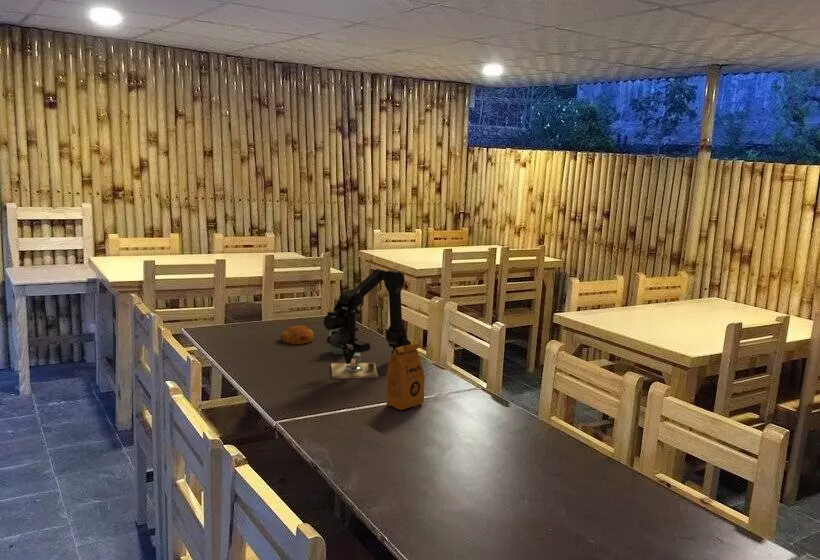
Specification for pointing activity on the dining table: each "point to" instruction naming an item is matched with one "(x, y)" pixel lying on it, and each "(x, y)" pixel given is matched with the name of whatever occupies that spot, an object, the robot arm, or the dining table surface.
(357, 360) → the cap
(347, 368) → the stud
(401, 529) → the dining table surface
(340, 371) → the board
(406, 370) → the coffee package
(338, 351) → the flower pot
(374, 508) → the dining table surface
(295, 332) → the croissant
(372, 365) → the block
